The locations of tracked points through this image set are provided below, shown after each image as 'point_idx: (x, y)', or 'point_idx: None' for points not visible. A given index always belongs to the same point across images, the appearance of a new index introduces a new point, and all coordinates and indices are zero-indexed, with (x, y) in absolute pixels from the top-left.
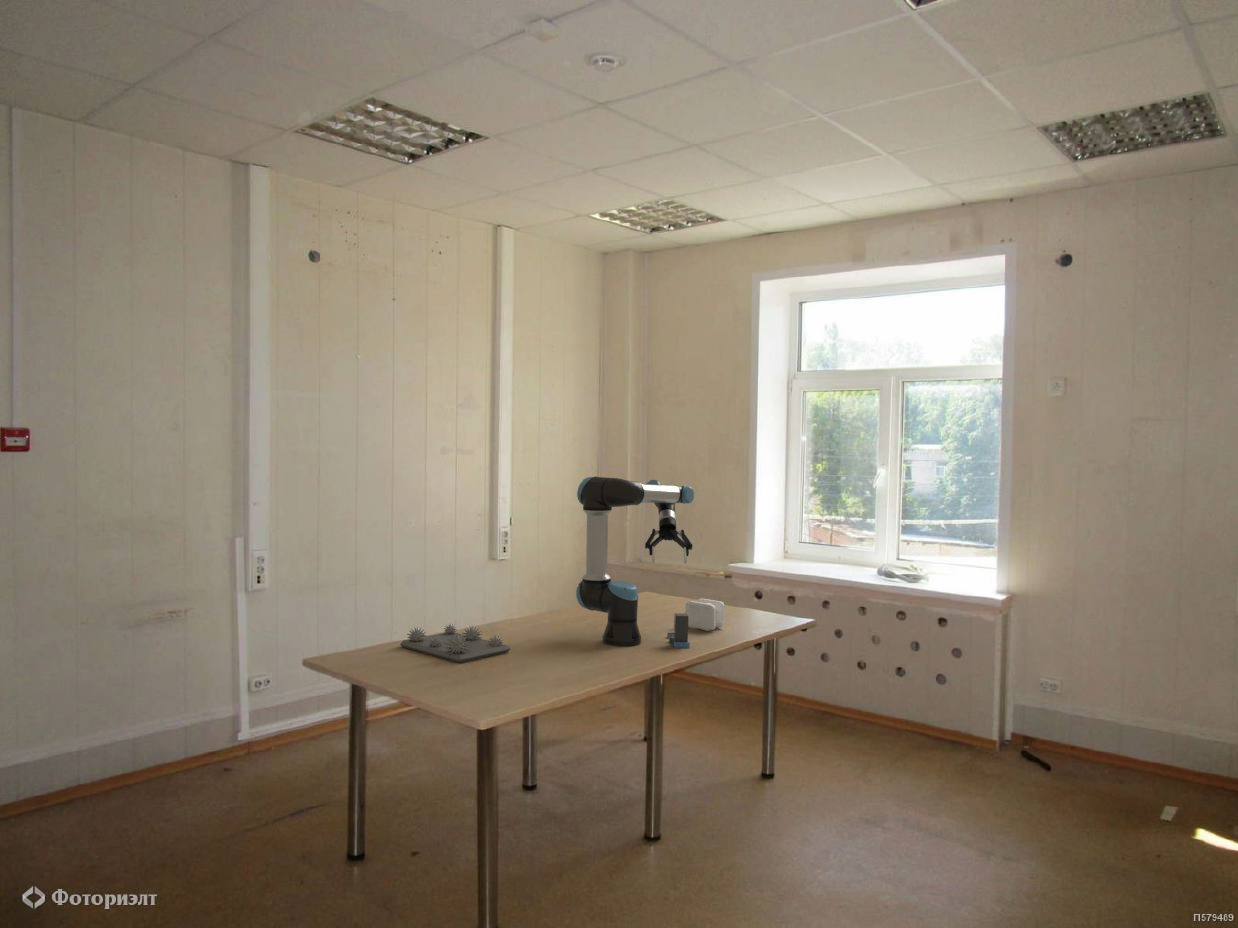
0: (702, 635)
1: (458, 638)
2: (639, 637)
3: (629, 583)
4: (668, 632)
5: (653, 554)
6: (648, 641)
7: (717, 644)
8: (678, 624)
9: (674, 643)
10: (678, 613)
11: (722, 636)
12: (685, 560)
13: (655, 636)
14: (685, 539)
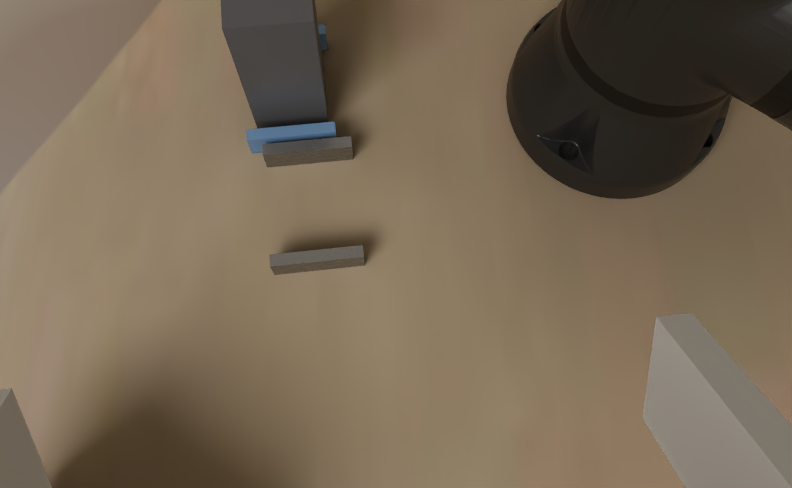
0: (136, 366)
1: None
2: (518, 55)
3: None
4: (357, 256)
5: (731, 385)
6: (468, 144)
7: (78, 147)
8: None
9: (323, 27)
10: (284, 20)
11: (5, 364)
12: (9, 416)
13: (437, 275)
14: None
